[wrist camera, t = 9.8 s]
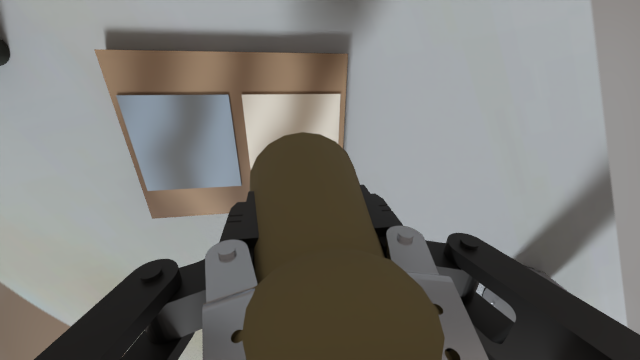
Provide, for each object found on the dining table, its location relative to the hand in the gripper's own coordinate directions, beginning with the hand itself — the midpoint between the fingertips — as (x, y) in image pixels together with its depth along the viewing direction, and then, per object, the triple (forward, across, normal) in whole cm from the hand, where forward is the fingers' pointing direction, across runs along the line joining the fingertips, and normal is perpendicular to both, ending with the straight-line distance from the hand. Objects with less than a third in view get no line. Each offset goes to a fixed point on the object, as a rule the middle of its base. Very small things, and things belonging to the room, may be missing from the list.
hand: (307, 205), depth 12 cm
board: (+12, +5, 0) cm, 13 cm away
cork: (+2, 0, 0) cm, 2 cm away
